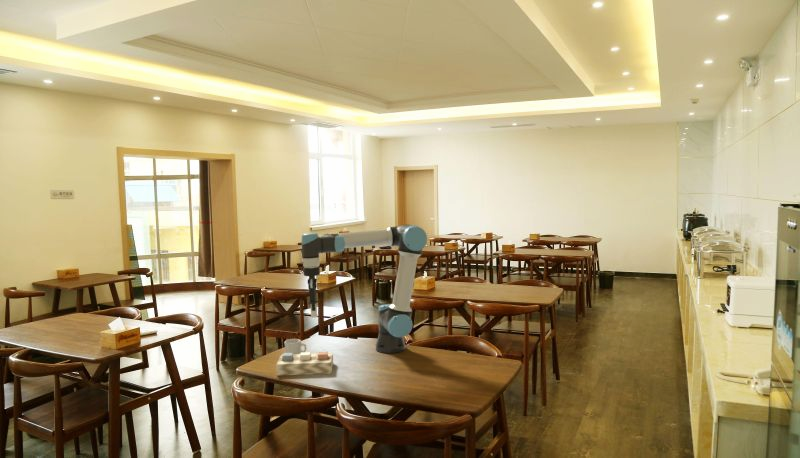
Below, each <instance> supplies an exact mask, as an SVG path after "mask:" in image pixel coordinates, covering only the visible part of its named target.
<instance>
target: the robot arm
mask: <svg viewBox="0 0 800 458" xmlns="http://www.w3.org/2000/svg"><path fill="white" fill-rule="evenodd" d="M427 242H428V236H427V233H426V232H425V230H424V229H423V228H422V227H420V226H418V225H415V224H414V225H413V224H403V225H402V224H401V225H398V226H389V227H387V228H386V229H377V230H366V231H365V230H364V231H352V232H342V233H341V232H339V233H324V234H322V235H320V236H319V233H317V232H307V233H303V234H302V235H301V253H302V260H301V262H302V266H303V269H302V270H303V276H305V277H308V279H307V285H308V294H309V302H308V304H309V305H310V318H311V319H313V318H314V319H315V318H318V307H317V303H319V301H318V299H317V287H318V286H317V282H318V279H317V278H316V276H319V275H320V274H321V268H320V266H321V265H320V264H321V263H320V262H321V261H320V254H324V253H325V254H326V253H327V254H328V253H339V252H344V251H345V249H349V248H360V247H361V248H362V247H373V246H375V247H376V246H384V245H388V247H398V249H397V252H398V254H399V261H398V266H397V267H398V268H397V272H396V273H397V274H396V279H395V285H394V291H393V296H392V303H391V304H390V303H389V304H381V305H379V306H378V311H377V313H378V336H377V340H376V343H375V350H376V351H377V352H378V353H383V354H396V353H400V352H403V351H405V350H406V343H405V341H404V337H407V336H408V335H409V334H410V333H411V331H412V329H413V320H412V313H413V309H412V308H411V305H410V304H411V299H412V293H413V290H414V289H413V288H414V282H415V275H416V269H417V264H418V259H419V257H421V256H422V253H423V249H424V248H425V246H426V245H427Z"/></svg>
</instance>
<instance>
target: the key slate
mask: <svg viewBox="0 0 800 458" xmlns="http://www.w3.org/2000/svg"><path fill="white" fill-rule="evenodd" d="M281 355H282V361H293V353H286V352H283V353H282V354H281Z"/></svg>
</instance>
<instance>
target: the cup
mask: <svg viewBox="0 0 800 458" xmlns="http://www.w3.org/2000/svg"><path fill="white" fill-rule="evenodd" d="M302 346H303V347H304V349H303V350H302ZM284 349H285V350H284V351H285V353H293V354H301V352H307V344H305V343H303V342H302V340H301V339H299V338H290V339H286V340H285V341H284Z"/></svg>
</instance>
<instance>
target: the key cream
mask: <svg viewBox="0 0 800 458" xmlns="http://www.w3.org/2000/svg"><path fill="white" fill-rule="evenodd" d="M311 354H312V353H311V351H305V352H301V353H300V360H311Z"/></svg>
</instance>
